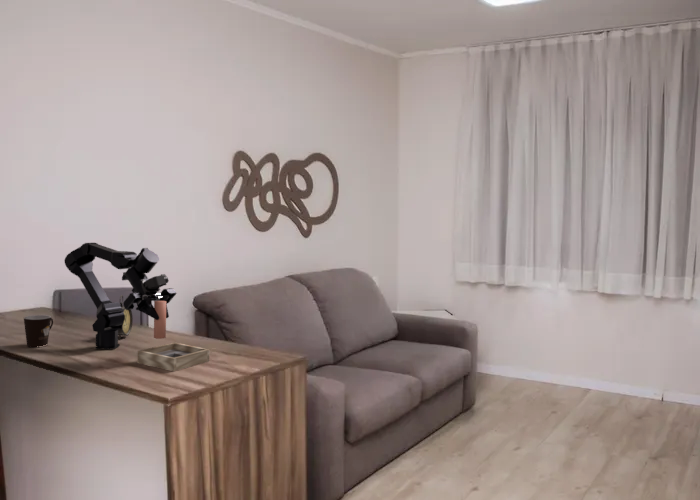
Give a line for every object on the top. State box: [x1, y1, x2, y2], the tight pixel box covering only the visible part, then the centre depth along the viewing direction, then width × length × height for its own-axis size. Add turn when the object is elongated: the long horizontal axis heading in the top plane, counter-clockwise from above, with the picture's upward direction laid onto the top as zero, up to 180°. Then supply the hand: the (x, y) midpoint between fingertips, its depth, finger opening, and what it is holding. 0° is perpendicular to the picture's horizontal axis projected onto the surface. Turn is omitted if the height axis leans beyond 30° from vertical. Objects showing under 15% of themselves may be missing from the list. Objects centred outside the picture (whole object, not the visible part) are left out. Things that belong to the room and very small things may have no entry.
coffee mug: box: [23, 314, 54, 348], centre depth 219 cm, size 12×9×10 cm
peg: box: [153, 301, 167, 340], centre depth 206 cm, size 4×4×12 cm
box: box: [137, 341, 211, 372], centre depth 204 cm, size 16×16×4 cm
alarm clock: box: [118, 294, 133, 341], centre depth 235 cm, size 11×5×16 cm, turn 179°
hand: (163, 318), depth 206 cm, fingers closed on peg, 4 cm apart
